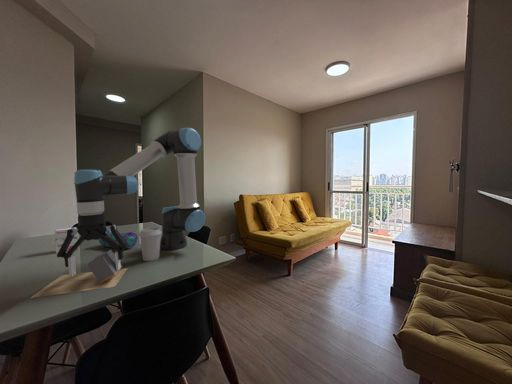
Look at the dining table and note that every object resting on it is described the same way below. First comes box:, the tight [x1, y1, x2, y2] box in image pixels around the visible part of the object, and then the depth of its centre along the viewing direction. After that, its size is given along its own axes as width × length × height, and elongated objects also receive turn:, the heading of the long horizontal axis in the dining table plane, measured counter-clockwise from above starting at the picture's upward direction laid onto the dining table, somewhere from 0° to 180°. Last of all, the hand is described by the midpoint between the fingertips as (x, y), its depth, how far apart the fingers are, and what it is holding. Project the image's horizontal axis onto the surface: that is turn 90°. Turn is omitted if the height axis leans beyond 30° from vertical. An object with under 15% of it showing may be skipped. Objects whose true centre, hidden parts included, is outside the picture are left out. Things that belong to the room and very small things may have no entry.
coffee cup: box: [138, 227, 162, 262], centre depth 94 cm, size 10×10×15 cm
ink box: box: [54, 226, 78, 254], centre depth 109 cm, size 8×5×12 cm, turn 133°
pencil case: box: [96, 230, 139, 249], centre depth 116 cm, size 21×9×10 cm, turn 74°
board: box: [30, 267, 129, 299], centre depth 73 cm, size 22×16×2 cm
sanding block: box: [87, 249, 123, 283], centre depth 74 cm, size 8×5×8 cm, turn 18°
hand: (96, 272), depth 73 cm, fingers open, 13 cm apart
